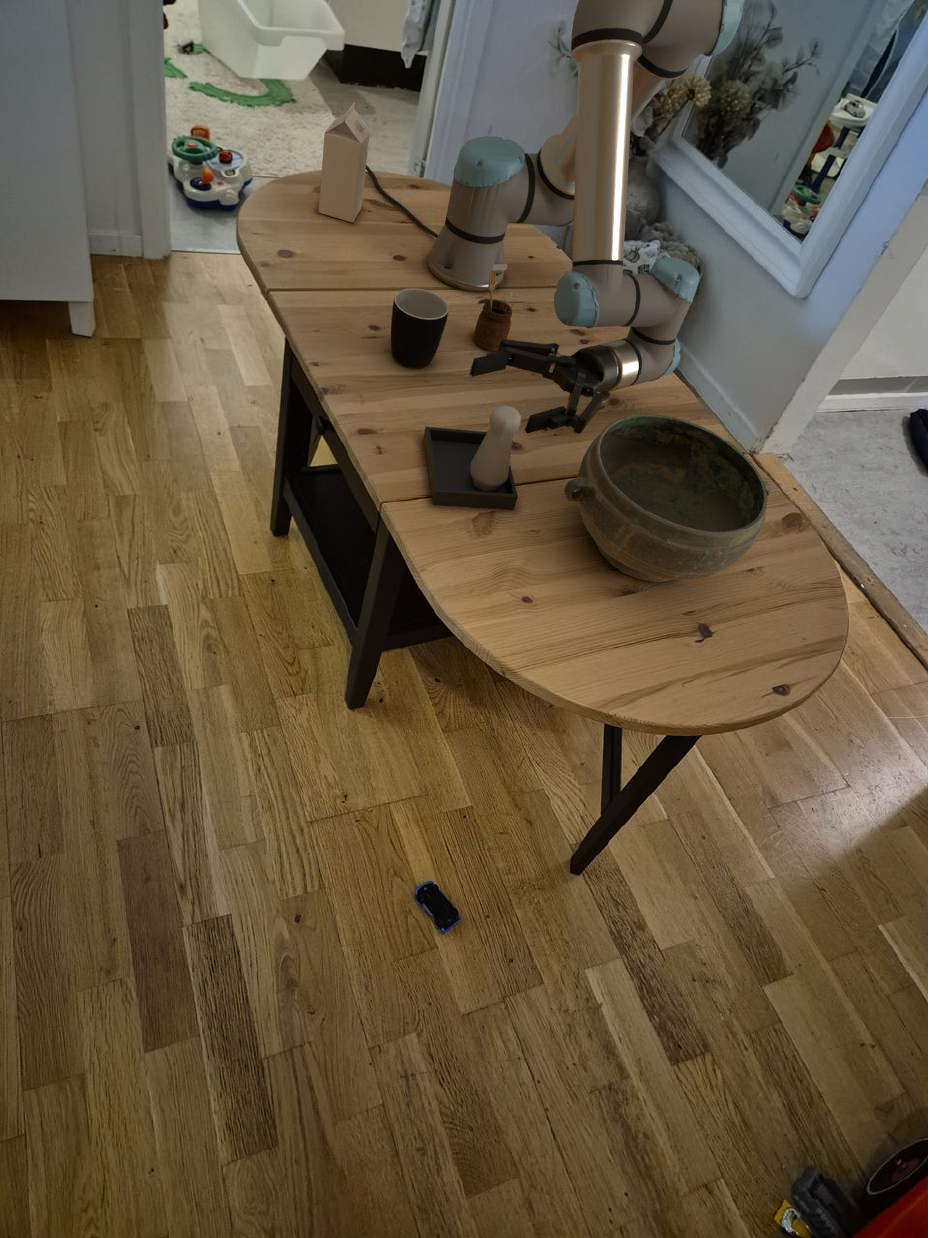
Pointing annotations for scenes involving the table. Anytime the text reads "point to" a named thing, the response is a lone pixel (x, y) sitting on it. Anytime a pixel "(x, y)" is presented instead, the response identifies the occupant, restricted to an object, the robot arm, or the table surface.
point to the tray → (460, 470)
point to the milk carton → (344, 166)
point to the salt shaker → (495, 450)
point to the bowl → (668, 498)
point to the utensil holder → (493, 320)
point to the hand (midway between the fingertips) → (500, 395)
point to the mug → (417, 326)
